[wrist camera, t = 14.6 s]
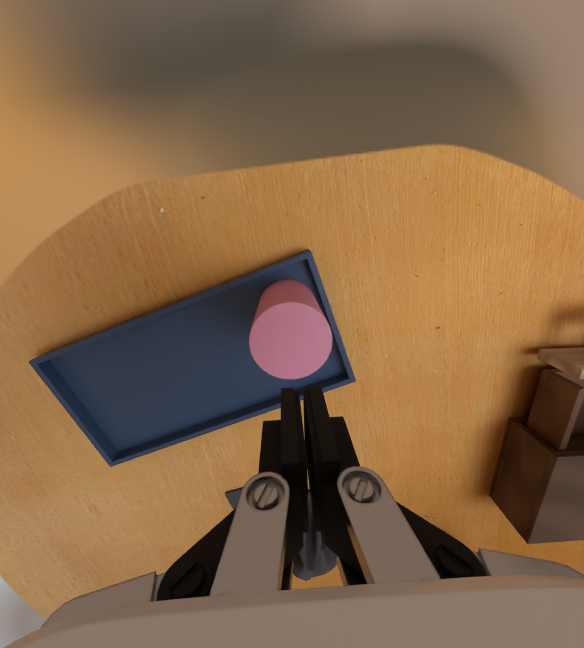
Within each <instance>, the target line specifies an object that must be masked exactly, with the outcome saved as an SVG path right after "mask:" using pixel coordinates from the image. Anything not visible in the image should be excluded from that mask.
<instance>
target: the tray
mask: <svg viewBox="0 0 584 648" xmlns="http://www.w3.org/2000/svg"><path fill="white" fill-rule="evenodd" d="M281 279H295V280H298V281H300V282H302V283H304V284H305V285H306V286H307V287H308V288H309V289H310V290H311V292H312V293H313V295H314V297H315V299H316V301H317V303H318V305H319V307H320V309H321V310H322V312H323V314H324V316H325V318H326V320H327V322H328V324H329V326H330V329H331V332H332V348H331V351H330V354H329V356H328V358H327V360H326V361H325V363H324V364H323V365H322V366H321V367H320V368H319V369H318V370H317V371H315V372H314V373H312V374H310V375H308V376H305V377H303V378H298V379H282V378H278V377H275V376H272V375H270V374H268V373H267V372H265V371H264V370H263V369H262V368H261V367H259V365H258V364H257V363H256V362H255V360H254V358H253V356H252V354H251V351H250V346H249V336H250V331H251V328H252V324H253V321H254V318H255V315H256V311H257V308H258V305H259V301H260V298H261V295H262V293H263V292H264V290H265V289H266V288H267V287H268V286H269V285H270V284H272V283H273V282H275V281H278V280H281ZM29 363H30V365H31V366H32V367H33V368H34V370H35V371H36V372H37V373H38V375H39V376H40V377H41V379H42V380H43V381H44V382H45V384H46V385H47V386H48V388H49V389H50V390H51V391H52V393H53V394H54V395H55V397H56V398H57V399H58V400H59V402H60V403H61V404H62V405H63V407H64V408H65V409H66V411H67V412H68V413H69V414H70V416H71V417H72V418H73V420H74V421H75V422H76V423H77V425H78V426H79V427H80V428H81V430H82V431H83V432H84V434H85V435H86V436H87V437H88V439H89V440H90V441H91V443H92V444H93V445H94V446H95V448H96V449H97V450H98V452H99V453H100V454H101V455H102V457H103V458H104V459H105V460H106V462H107V463H108V464H109V466H110V467H111V466H114V465H117V464H120V463H123V462H126V461H129V460H132V459H134V458H137V457H140V456H143V455H146V454H149V453H152V452H154V451H157V450H160V449H163V448H166V447H169V446H172V445H175V444H177V443H180V442H183V441H186V440H189V439H192V438H195V437H197V436H200V435H203V434H206V433H209V432H212V431H215V430H218V429H220V428H223V427H226V426H229V425H232V424H235V423H238V422H240V421H243V420H246V419H249V418H252V417H255V416H258V415H261V414H263V413H266V412H269V411H272V410H275V409H278V408H281V388H294V391H299V397H300V401H301V400H304V398H303V390H308V387H311V386H321V388H322V391H323V393H324V392H326V391H329V390H332V389H335V388H338V387H341V386H344V385H347V384H349V383H352V382H355V381H356V380H355V377H354V374H353V371H352V369H351V366H350V363H349V360H348V357H347V354H346V351H345V348H344V345H343V343H342V340H341V337H340V334H339V331H338V328H337V325H336V322H335V319H334V316H333V314H332V311H331V308H330V305H329V302H328V299H327V296H326V293H325V290H324V287H323V285H322V282H321V279H320V276H319V273H318V270H317V267H316V264H315V261H314V259H313V256H312V253H311V251H310V250H306V251H303V252H301V253H298V254H295V255H293V256H290V257H288V258H285V259H283V260H280V261H278V262H275V263H273V264H270V265H268V266H265V267H262V268H260V269H257V270H255V271H252V272H250V273H247V274H245V275H242V276H240V277H237V278H234V279H232V280H229V281H227V282H224V283H222V284H219V285H217V286H214V287H212V288H209V289H207V290H204V291H201V292H199V293H196V294H194V295H191V296H189V297H186V298H184V299H181V300H179V301H176V302H174V303H171V304H168V305H166V306H163V307H161V308H158V309H156V310H153V311H151V312H148V313H146V314H143V315H141V316H138V317H135V318H133V319H130V320H128V321H125V322H123V323H120V324H118V325H115V326H113V327H110V328H108V329H105V330H102V331H100V332H97V333H95V334H92V335H90V336H87V337H85V338H82V339H80V340H77V341H74V342H72V343H69V344H67V345H64V346H62V347H59V348H57V349H54V350H52V351H49V352H47V353H44V354H42V355H40V356H38V357H36V358H34V359H32V360H31V361H29Z"/></svg>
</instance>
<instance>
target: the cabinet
mask: <svg viewBox="0 0 584 648" xmlns="http://www.w3.org/2000/svg"><path fill="white" fill-rule="evenodd" d="M528 418H529V417H523V418H509V421H508V425H507V429H506V433H505V437H504V441H503V444H502V448H501V452H500V456H499V460H498V464H497V468H496V471H495V475H494V479H493V483H492V487H491V491H490V495H489V496H490V497H491V499H492V500H493V501H494V502H495V504H496V505H497V506H498V507H499V509H500V510H501V511H502V512H503V514H504V515H505V516H506V518H507V519H508V520H509V521H510V523H511V524H512V525H513V526H514V528H515V529H516V530H517V531H518V533H519V534H520V535H521V536H522V537H523V539H524V540H525V541H526V543H527V544H534V543H548V542H562V541H576V540H584V450H579V451H563V452H557V451H556V450H555V449H553V448H552V447H551V446H550V445H548V444H547V443H546V442H545V441H543V440H542V439H541V438H540V437H538V436H537V435H536V434H535V433H533V432H532V431H531V430H529V429H528V428H527V427H526V425H527V422H528Z"/></svg>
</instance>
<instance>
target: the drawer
mask: <svg viewBox="0 0 584 648" xmlns="http://www.w3.org/2000/svg"><path fill="white" fill-rule="evenodd" d="M537 359H539V360H541V361H543V362H545V363H547V364H549V365H551V366H553V367H555V368H557V369H544V370H542V373H541V376H540V380H539V383H538V387H537V390H536V394H535V397H534V401H533V404H532V408H531V411H530V415H529V418H528V422H527V425H526V427H527V428H528V429H529V430H531V431H532V432H533V433H535V434H536V435H537V436H538V437H540V438H541V439H542V440H543V441H545V442H546V443H547V444H548V445H550V446H551V447H552V448H553V449H555V450H556V451H557V452H563V451H579V450H584V347H573V348H554V349H539V353H538V356H537Z"/></svg>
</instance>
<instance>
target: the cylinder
mask: <svg viewBox="0 0 584 648" xmlns="http://www.w3.org/2000/svg"><path fill="white" fill-rule="evenodd" d="M249 346H250V351H251V354H252V356H253V358H254V360H255V362H256V363H257V364H258V365H259V367H261V368H262V369H263V370H264V371H265V372H267V373H268V374H270V375H272V376H275V377H278V378H282V379H298V378H303V377H305V376H308V375H310V374H312V373H314V372H315V371H317V370H318V369H319V368H320V367H321V366H322V365H323V364H324V363H325V361H326V360H327V358H328V356H329V354H330V351H331V348H332V332H331V329H330V326H329V324H328V322H327V320H326V318H325V316H324V314H323V312H322V310H321V309H320V307H319V305H318V303H317V301H316V299H315V297H314V295H313V293H312V292H311V290H310V289H309V288H308V287H307V286H306V285H305V284H304V283H302V282H300V281H298V280H295V279H281V280H278V281H275V282H273V283H272V284H270V285H269V286H268V287H267V288H266V289H265V290H264V292H263V293H262V295H261V298H260V301H259V305H258V308H257V311H256V315H255V318H254V321H253V324H252V328H251V331H250V336H249Z"/></svg>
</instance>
